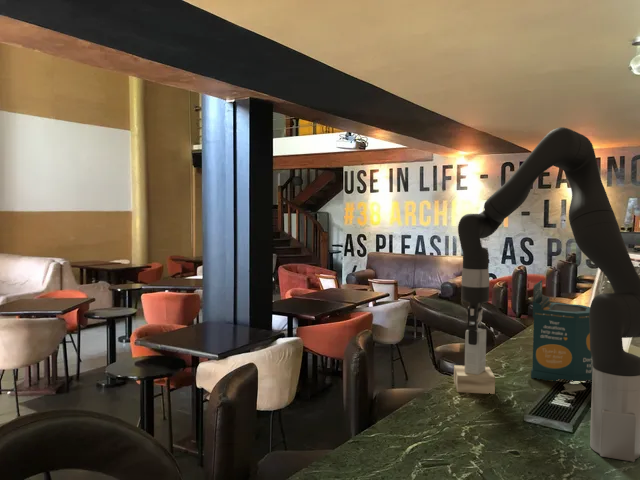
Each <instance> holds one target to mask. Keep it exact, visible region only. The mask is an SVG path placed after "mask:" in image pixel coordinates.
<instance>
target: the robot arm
mask: <svg viewBox="0 0 640 480" xmlns="http://www.w3.org/2000/svg"><path fill="white" fill-rule="evenodd" d="M551 167H552V168H553V167H555V168H558V169H561V170H562V171H563V172H564V174H565V176H566V178H567V181H568V183H569V186H570V190H571V200H570V203H569V208H568V209H569V210H568V222H569V225H570V229H571V231H572V235H573V239H574V242H575V243H576V245H577V247H578V248H579V250H580V251H581V252H582V254H583V255H585V256H586V257H587V258H588V259H589V260H590V261H591V262H592V263H593V264H594V265H595V266H596V268H598V269H599V270H600V271H601V272H602V273H603V274H604V276H605V277H606V279H607V280H608V282H609V284H610V285H611V287H612V288H611V289H612V290H613V293H612V292H608V293H606V292H605V293H599V294H597V295H596V296H594V297H593V299H592V300H591V303H590V306H589V307H590V313H589V326H590V351H591V355H592V359H593V372H592V383H591V399H590V400H591V401H590V402H591V405H590V406H591V407H590V434H589V435H590V437H589V440H590V442H589V446H590V448H591V449H592V450H593V451H594V452H596V453H597V454H599V456H600V457H603V458H610V459H616V460H621V461H627V462H636V459H639V458H640V356H638V355H636V354H633V353H631V352H627V351H625V350H624V346H623V339H625V338H627V339H628V338H631V339H634V338H640V276H639V274H638V272H637V269H636V268H635V266H634V263H633V261H632V259H631V257H630V253H629V251H628V248H627V247H626V244H625V241H624V238H623V236H622V231H621V230H620V226H619V222H618V221H617V217H616V213H614V210H613V207H612V205H611V203H610V199H609V198H608V193H607V192H606V189H605V186H604V184H603V181H602V178H601V174H600V170H599V165H598V161H597V157H596V152H595V149H594V145H593V143H592V141H591V140H590V139H589V138H588V137H587V136H586V135H584V134H581V133H579V132H577V131H576V130H573V129H571V128H567V127H564V126H563V127H557V128H554V129H552V130H550V131H549V132H548V133H547V134H546V135H544V137H543V138H542V139H541V140H540V141H539V142H538V143H537V145H536V146H535V147H534V149H533V150H531V153H530V154H529V155H528V156H527V157H526V158H525V160H523V162H522V163H521V165H520V166H519V167H518V169H517V170H516V171H515V172H514V174H513V175H511V177H510V178H509V179H508V180H506V182H505V183H504V184H503V185H501V186H500V188H498V189H497V190H496V191H495V192H494V193H493V194H492V195H491V196H490V197H488V199H487V200H486V201H484V205H483V211H482V212H480V213H467V214H464V215H463V216H461V218H460V220H459V222H458V225H457V233H458V239H459V243H460V248H461V251H462V272H461V296H460V297H461V300H462V301H463V302H466V303H469V306H467V308H466V315H467V316H466V323H467V324H466V330H468V331H469V335H468V343H469V344H470V345H476V344H477V330H478V328H481V326H482V321H483V310H484V308H483V304H484V303H488V302H489V301H490V272H489V267H490V266H489V263H490V262H489V259H490V255H489V250H488V249H487V248H485V247H483V246H482V241H481V240H482V239H486V238H489V237H490V236H492V235H493V234H494V233H496V231H497V230H498V228H500V226H501V225H502V224H503V222H504V220H505V219H506V218H508V217H509V216H510V215H511V214H513V213H514V212H515V211H516V210H517V209H519V208H520V207H521V206H522V205H523V204H524V202H525V201H526V200H527V198H528V197H529V195H530V193H531V189H532V187H533V185H534V183H535V182H536V180H537V179H538V178H539V177H540V176H541V175H542V174H543V173H544V172H546V171H547V170H549V169H550V168H551Z"/></svg>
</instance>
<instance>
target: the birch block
mask: <svg viewBox="0 0 640 480" xmlns="http://www.w3.org/2000/svg"><path fill="white" fill-rule="evenodd" d="M464 371H465V365H461V364H460V365H459V364H457V365H455V364H454V365H453V383H454V385H455V386H454V387H455V389H456V393H457V392H458V393H467V394H468V393H471V394H489V393H490V394H491V395H495V394H496V393H495V392H496V391H495V390H496V388H495V387H496V376H495V375H494V373H493V371H492V370H491V368H490V366H485V370H484V371H483V372H482V373H480V374H479V375H475V374H470V373H465V372H464ZM490 394H489V395H490Z"/></svg>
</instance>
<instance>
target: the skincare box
mask: <svg viewBox="0 0 640 480" xmlns="http://www.w3.org/2000/svg"><path fill="white" fill-rule="evenodd" d="M468 335H469V331H468V330H467V329H466V330H465V337H464V340H465V341H464V366H465V371H464V372H465V373H470V374H475V375H479V374H480V373H482V372H483V371H484V370H485V367H486V366H487V365H486V363H487V362H486V360H487V359H486V358H487V357H486V356H487V354H486V353H487V329H486V328H481V327H480V328H478V330H477V344H476V345H470V344H469V343H468Z"/></svg>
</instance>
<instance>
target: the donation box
mask: <svg viewBox="0 0 640 480" xmlns="http://www.w3.org/2000/svg"><path fill="white" fill-rule="evenodd" d="M532 290H533V291H532V318H533V333H532V339H533V340H532V368H531V370H530V379H534V378H537V379H536V380H540V379H544V380H543V381H547V380H553V381H556V380H558V379H566V380H573V381H584V380H592V372H593V359H592V355H591V351H590V326H589V313H590V306H586V305H582V304H572V303H562V302H551V301H550V297H549V296H546V295H544V294H543V280H539V282H537V283H536V284H534V285H533V289H532ZM553 381H552V382H553Z"/></svg>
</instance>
